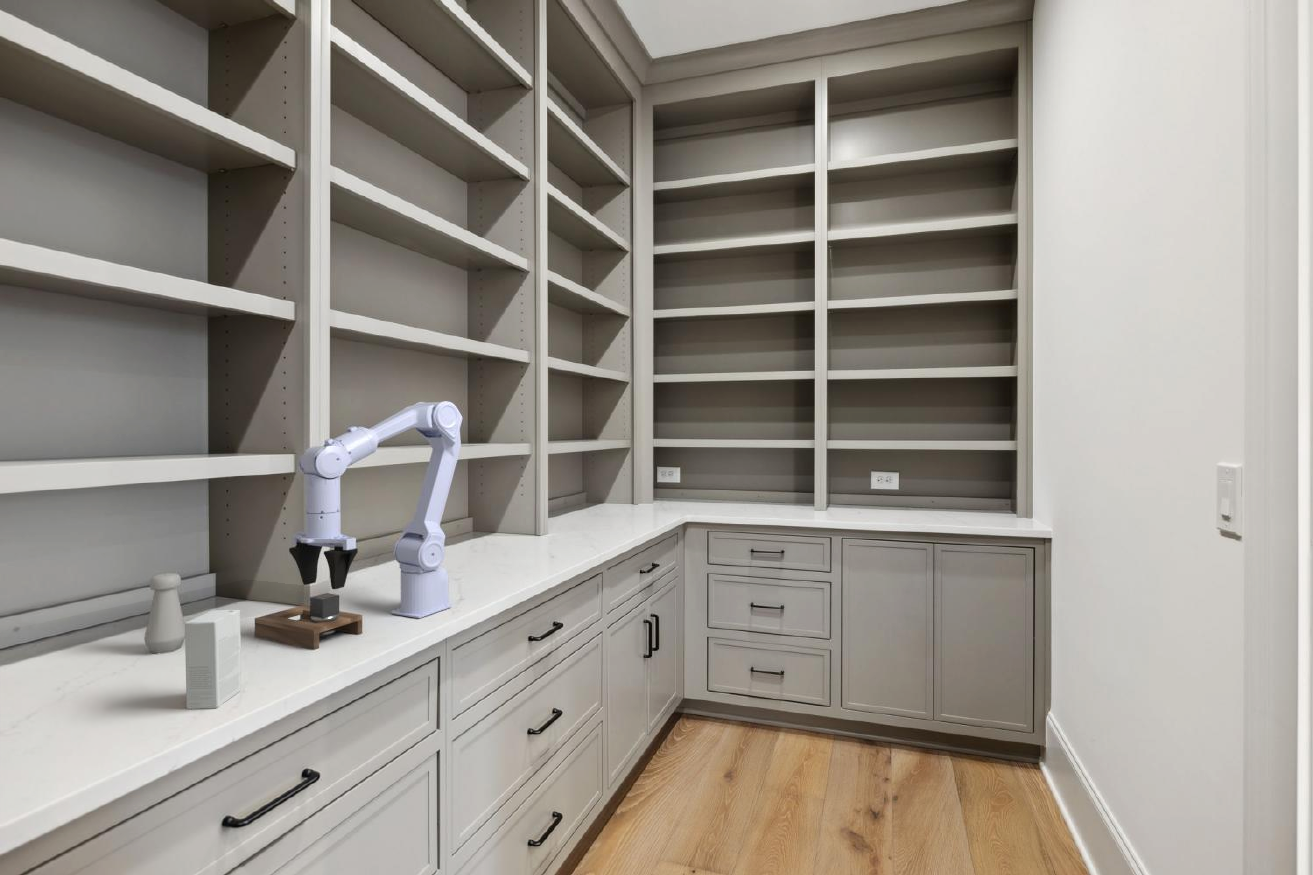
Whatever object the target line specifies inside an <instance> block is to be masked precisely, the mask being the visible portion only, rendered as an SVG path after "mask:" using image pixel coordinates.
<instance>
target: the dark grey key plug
mask: <svg viewBox="0 0 1313 875" xmlns="http://www.w3.org/2000/svg"><path fill="white" fill-rule="evenodd" d="M309 606H310V616H311V621H312V622H315V623H323V622H330V621H334V620H336V619H338V614H339V611H340V594H335V593H328V592H324V593H321V594H317V595H314V596H310V597H309ZM336 631H337V630H336V628H333V629H330V630H327V631H324V632H321V633H319V636H326V635H327V636H328V635H331V634H334V633H336Z"/></svg>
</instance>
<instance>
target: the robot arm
mask: <svg viewBox="0 0 1313 875" xmlns="http://www.w3.org/2000/svg"><path fill="white" fill-rule="evenodd" d="M462 422H463V416H462V414H461V412H460V411H459V409H458V408H457V405H455V404H454V403H453V402H452V401H446V400H444V401H439V402H438V401H437V402H433V401H432V402H425V401H419V402H416V403H415V404H413V405H409V406H406V407H405V408H403V409H401V410H400V411H398V412H396V413H394V414H393V415H391V416H389V417H387V418H385V419H384V420H382V421H380V422H378V423H377V424H375V425H374V426H371V427H370V428H367V427H364V426H358V427H357V426H351V427H348V428H346V432H345V433H343V434H341V435H339V436H337V437H335V438H328V439H325V440H324V444H323V445H322V446H318V445H317V446H316V445H314V446H311V447H308V448H307V449H306V450H305V451H304V452H303V453H304V454H303V453H302V454H301V455H302V456H301V458H300V461H298V462H297V466H298V469H299V470H300V472H301V473H302V474H303V476H304V486H305V487H304V491H305V492H304V493H305V498H304V500H305V501H304V502H305V504H304V505H305V506H304V507H305V512H304V513H305V532H303V531H300V532H294V533H292V534H291V544H292V545H295V546H292V547H290V548H288V549H289V550H288V552H289V553H290V555H291V556H292V558H293V559H294V561H295V563H296V566H297V569H298V571H299V575H300V578H301V581H302V584H303V585H304V586H306V585H307V586H308V585H311V584H315V583H317V578H318V577H317V576H318V567H319V566H318V564H319V558H320V556H321V555H320V554H321V552H322V549H323V547H325V548H333V549H330V550H329V549H328V550H325V551H323V555H324V556H325V560H326V562H327V565H328V570H329V578H330V579H329V580H330V587H331V589H332V590H338V589H343V588H344V587H345V584H346V580H347V577H348V574H349V570H350V568H351V565H352V562H353V561H354V558H355V557H356V555H357V554H358V553H359V552H358V551H359V549H358V548H357V537H352V536H348V535H345V534H342V533H341V529H342V528H341V524H342V522H341V521H342V520H341V519H342V517H341V514H342V513H341V476H342V475H343V474H344V473H345V472H346V470H347V468H348V467H350V466H352V465H353V464H355V463H358V462H359V461H361V460H363V459H365V458H366V457H369V456H370V455H373V454H374V453H375V452H376V451H377V448H378V444H379V443H382V442H383V441H386V440H388V439H391V438H393V437H395V436H397V435H399V434H401V433H403V432H406V431H408V430H410V429H414V430H415V431H416V432H417V433H418V434H419V435H421V436H422V437H423V438H424V439H425V441H426V440H427V442H428V444H429V445H430V447H431V449H432V452H431V455H430V458H429V462H428V466H427V469H426V472H425V475H424V479H423V483H422V486H421V490H420V495H419V498H418V500H417V505H416V508H415V512H414V515H413V518H412V520H411V522H409V523H408V524H407V525H406V526H405V527H404V528H403V529H402V532H401V535H400V537H399V538H398V539H397V540H396V542H395V544H394V546H393V550H392V551H393V557H394V560H395V561H396V562H397V563H398V564H399V570H400V607H399V608H397V609H394V610H391V612H390V613H391V615H392V614H393V615H397V616H403V617H408V618H409V617H410V618H416V619H421V618H425V617H426V616H430V615H432V614H436V613H439V612H441V611H443V610H446V609H451V608H452V606H453V605H452V604H450V603H449V602H450V589H449V588H450V586H449V585H450V584H449V582H450V579H449V578H450V577H449V574H448V571H447V570H446V568H444V566H442V565H441V564H442V563H443V561H444V559H445V555H446V554H445V553H446V552H445V551H446V549H445V542H446V541H445V539H446V535H445V533H444V531H443V529H442V527H441V526H440V525H441V522H442V517H443V514H444V511H445V507H446V503H447V500H448V496H449V493H450V489H451V486H452V485H451V484H452V482H453V477H454V473H455V470H456V467H457V462H458V459H459V455H460V452H461V449H462V448H461V445H462V441H461V426H462Z"/></svg>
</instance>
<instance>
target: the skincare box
mask: <svg viewBox="0 0 1313 875" xmlns="http://www.w3.org/2000/svg"><path fill="white" fill-rule="evenodd" d="M184 624H185V639H184V642H185V644H184V645H185V651H184V652H185V692H186V693H185V696H186V700H185V701H186V709H187V710H196V709H197V710H198V709H200V710H201V709H218V708H219V707H220V706H221V705H223V704H224V703H226V702H228V701H229V700H230V699H232V698H233V697H234V696H235V695H238V693H240V692H241V691H242V652H241V651H242V648H241V647H242V646H241V644H242V641H241V610H240V609H221V610H220V609H217V610H216V609H215V610H209V611H208V612H205V613H204V614H201V615H199V616H197V617H195V618H193V619H191V620H188V621H186V622H184Z"/></svg>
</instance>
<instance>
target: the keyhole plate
mask: <svg viewBox="0 0 1313 875" xmlns="http://www.w3.org/2000/svg"><path fill="white" fill-rule="evenodd" d="M297 616H299V619H292V618H294V617H297ZM333 628H336V631H338V632H341V633H343V632H344V633H347V634H348V633H349V634H353V635H357V636H359V635H361V634H363V614H359V613H355V612H354V613H353V612H348V611H341V610H339V614H338V619H336V620H334V621H330V622H323V623H315V622H312V621H311V616H310V604H309V605H308V604H302V605H299V606H294V607H292V608H288V609H284V610H279V611H276V612H272V613H269V614H266V615H261V616H257V617H254V637H256V638H260V639H264V640H269V641H273V642H277V643H282V644H287V645H292V646H296V647H301V648H305V649H309V650H317V649H319V648H320V635H319V633H321V632H324V631H327V630H330V629H333Z"/></svg>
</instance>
